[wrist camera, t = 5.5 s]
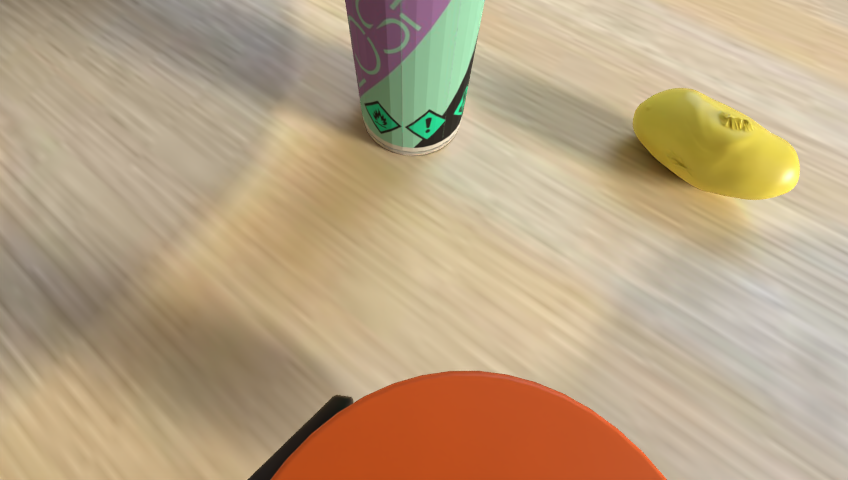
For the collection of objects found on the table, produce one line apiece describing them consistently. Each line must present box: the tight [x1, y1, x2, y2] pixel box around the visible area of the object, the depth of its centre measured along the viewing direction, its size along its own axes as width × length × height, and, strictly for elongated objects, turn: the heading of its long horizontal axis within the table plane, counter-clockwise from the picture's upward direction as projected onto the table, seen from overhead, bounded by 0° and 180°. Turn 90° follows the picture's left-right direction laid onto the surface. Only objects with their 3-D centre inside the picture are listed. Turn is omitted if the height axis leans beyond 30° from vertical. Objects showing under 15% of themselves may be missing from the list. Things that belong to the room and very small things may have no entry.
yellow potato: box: [633, 88, 800, 200], centre depth 20 cm, size 4×8×4 cm, turn 48°
